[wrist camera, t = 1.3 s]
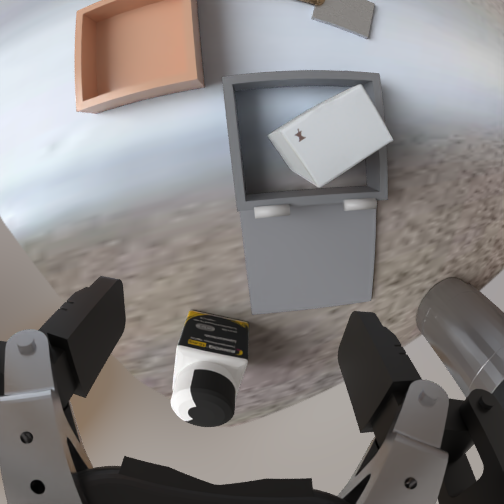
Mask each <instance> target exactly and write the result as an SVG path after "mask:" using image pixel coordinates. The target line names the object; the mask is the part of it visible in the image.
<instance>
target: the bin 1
mask: <svg viewBox="0 0 504 504" xmlns="http://www.w3.org/2000/svg"><path fill="white" fill-rule="evenodd" d="M199 88H205V83H204V73H203V63H202V53H201V42H200V31H199V19H198V6H197V0H101V1H99V2H97V3H94V4H92V5H90V6H87V7H85V8H83V9H81V10H79V11H77V15H76V30H75V94H76V110H77V112H85V113H94V114H97V113H100V112H103V111H106V110H110V109H113V108H116V107H120V106H123V105H127V104H130V103H134V102H138V101H142V100H146V99H150V98H154V97H158V96H163V95H167V94H172V93H177V92H182V91H187V90H193V89H199Z"/></svg>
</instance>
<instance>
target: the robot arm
mask: <svg viewBox="0 0 504 504" xmlns="http://www.w3.org/2000/svg"><path fill="white" fill-rule="evenodd" d="M416 320H417V326H418V328H419V330H420V331H421V333H422V334H423V336H424V337H425V338H426V340H427V341H428V342H429V344H430V345H431V347H432V348H433V349H434V351H435V352H436V354H437V355H438V356H439V358H440V359H441V361H442V362H443V364H444V365H445V367H446V368H447V369H448V371H449V372H450V374H451V375H452V377H453V378H454V380H455V381H456V383H457V384H458V386H459V387H460V389H461V390H462V392H463V393H464V395H465V397H466V400H465V401H463V400H455V399H449V398H448V395H447V394H446V392H445V391H444V389H442V387H440V386H439V385H437V384H436V383H434V382H432V381H429V380H422V379H421V377H420V375H419V374H418V372H417V370H416V369H415V367H414V365H413V363H412V362H411V360H410V358H409V357H408V355H406V352H405V350H404V348H403V347H401V344H400V342H399V340H398V339H397V337H396V336H395V335H394V334H393V333H392V332H391V331H390V330H388V329H387V328H386V327H383V325H382V324H381V322H380V321H379V319H378V317H377V316H376V314H375V313H373V312H360V311H354V312H353V313H352V314H351V316H350V318H349V321H348V324H347V327H346V329H345V332H344V335H343V338H342V340H341V343H340V346H339V350H338V363H339V366H340V369H341V372H342V375H343V378H344V381H345V384H346V387H347V390H348V393H349V397H350V400H351V403H352V406H353V410H354V413H355V416H356V420H357V423H358V426H359V430H360V433H365V432H374V434H375V437H374V439H373V440H372V442H371V443H370V445H369V447H368V449H367V451H366V453H365V455H364V456H363V458H362V460H361V462H360V463H359V465H358V467H357V469H356V470H355V472H354V474H353V475H352V477H351V479H350V480H349V482H348V483H347V485H346V486H345V487H344V489H343V490H342V491H341V492H340V493H339V495H338V496H335V495H332V494H330V493H327V492H323V491H320V490H315V489H313V487H312V479H311V478H307V479H262V480H256V481H249V482H242V483H234V484H225V485H214V484H211V483H208V482H205V481H202V480H200V479H197V478H194V477H192V476H189V475H187V474H184V473H182V472H179V471H177V470H174V469H172V468H170V467H166V466H161V465H157V464H153V463H148V462H145V461H141V460H137V459H133V458H129V457H126V456H124V459H123V462H122V465H121V466H104V467H96V468H93V466H92V464H91V462H90V460H89V458H88V456H87V454H86V451H85V449H84V445H83V443H82V439H81V436H80V433H79V430H78V427H77V424H76V420H75V416H74V413H73V409H72V405H71V403H70V398H71V397H72V395H73V394H76V395H79V396H82V397H84V398H86V396H87V394H88V392H89V391H90V389H91V387H92V385H93V384H94V382H95V380H96V378H97V376H98V375H99V373H100V371H101V369H102V368H103V366H104V364H105V363H106V361H107V359H108V357H109V356H110V354H111V352H112V351H113V349H114V347H115V346H116V344H117V342H118V341H119V339H120V337H121V336H122V334H123V332H124V328H125V321H126V317H125V306H124V293H123V284H122V281H121V280H120V279H114V278H109V277H104V276H100V277H99V278H98V279H97V280H96V281H95V282H94V283H93V284H92V285H91V286H90V287H89V288H88V287H85V288H83V289H81V290H79V291H77V292H75V293H74V294H73V295H72V296H71V297H70V298H69V299H68V300H67V302H65V303H64V304H63V305H62V306H61V307H60V309H58V310H57V311H56V312H55V313H54V314H53V315H52V316H51V318H50V319H48V321H47V322H46V323H45V324H44V325H43V326H42V327H41V328H40V329H39V330H33V329H28V330H23V331H20V332H17V333H16V334H14V335H13V336H11V338H9V340H8V341H7V342H4V341H0V468H1V474H2V480H3V485H4V490H5V494H6V498H7V503H8V504H436V501H437V498H438V501H439V504H504V313H503V312H502V311H501V310H500V309H499V308H498V307H497V306H496V305H495V304H493V303H492V302H491V301H490V300H489V299H488V298H487V297H485V296H484V295H483V294H482V293H481V292H480V291H478V290H477V289H476V288H475V287H474V286H472V285H471V284H465V283H464V282H463V281H462V280H460V279H458V278H449V279H446V280H443V281H441V282H440V283H438V284H436V285H435V286H434V287H433V288H432V289H431V290H430V291H429V292H428V293H427V294H426V296H425V297H424V299H423V300H422V302H421V304H420V306H419V309H418V312H417V319H416ZM474 444H475V446H476V448H477V451H478V453H479V455H480V457H481V460H482V462H483V465H484V470H483V474H482V476H481V477H480V479H479V480H477V481H476V479H475V476H474V474H473V471H472V469H471V467H470V464H469V461H468V459H467V456H466V454H465V453H466V452H467V451H468V450H469V449H470V448H471V447H472V446H473V445H474Z"/></svg>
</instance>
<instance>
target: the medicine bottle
mask: <svg viewBox="0 0 504 504" xmlns="http://www.w3.org/2000/svg"><path fill="white" fill-rule="evenodd" d="M248 336H249V324H248V323H247V322H244V321H239V320H234V319H229V318H224V317H220V316H215V315H211V314H206V313H202V312H198V311H193V310H190V311H189V313H188V316H187V319H186V321H185V324H184V327H183V330H182V333H181V336H180V339H179V342H178V345H177V350H176V358H175V367H174V377H173V387H172V389H173V394H172V398H171V406H172V409H173V410H174V412H175V413H176V414H177V415H178V416H179V417H180V418H181V419H182V420H184V421H186V422H188V423H190V424H193V425H197V426H201V427H215V426H220V425H222V424H224V423H226V422H228V421H229V420H230V419H231V418H232V417H233V415H234V410H235V400H236V397H237V394H238V391H239V388H240V385H241V382H242V379H243V376H244V373H245V370H246V367H247V364H248Z"/></svg>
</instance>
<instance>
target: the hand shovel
mask: <svg viewBox="0 0 504 504" xmlns="http://www.w3.org/2000/svg"><path fill="white" fill-rule="evenodd" d="M299 1H303V2H307V3H310V4H313V5H315V7H314V11H313V14H312V18H311V19H313V20H316V21H319V22H322V23H325V24H328V25H331V26H334V27H337V28H340V29H342V30H345V31H348V32H350V33H353V34H356V35H358V36H361V37H363V38H365V39H367V38H368V35H369V30H370V25H371V20H372V15H373V10H374V3H372V2H369V1H367V0H299Z"/></svg>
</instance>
